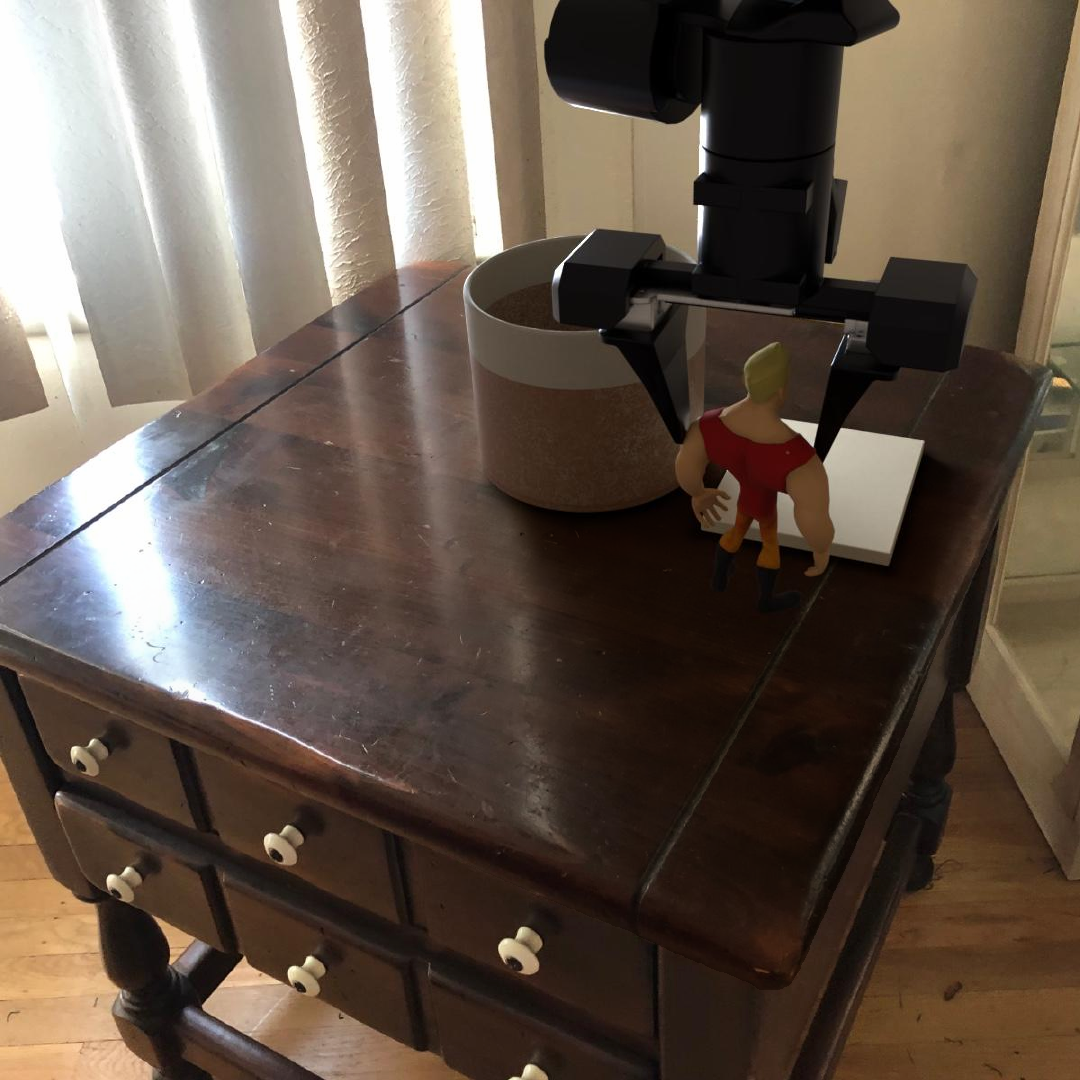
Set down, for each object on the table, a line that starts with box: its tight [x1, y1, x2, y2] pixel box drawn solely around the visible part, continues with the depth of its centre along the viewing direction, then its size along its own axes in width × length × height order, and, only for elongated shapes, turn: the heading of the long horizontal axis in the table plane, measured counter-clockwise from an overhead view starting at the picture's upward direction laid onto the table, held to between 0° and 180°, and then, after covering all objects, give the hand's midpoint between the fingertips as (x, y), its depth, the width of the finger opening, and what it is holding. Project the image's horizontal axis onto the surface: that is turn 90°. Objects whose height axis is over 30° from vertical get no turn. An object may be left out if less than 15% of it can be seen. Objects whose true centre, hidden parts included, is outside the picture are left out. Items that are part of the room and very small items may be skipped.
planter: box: [463, 233, 707, 514], centre depth 79 cm, size 16×16×14 cm
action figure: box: [675, 341, 835, 616], centre depth 58 cm, size 10×4×15 cm, turn 46°
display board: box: [700, 418, 926, 567], centre depth 78 cm, size 12×14×1 cm
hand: (749, 451), depth 58 cm, fingers closed on action figure, 7 cm apart
